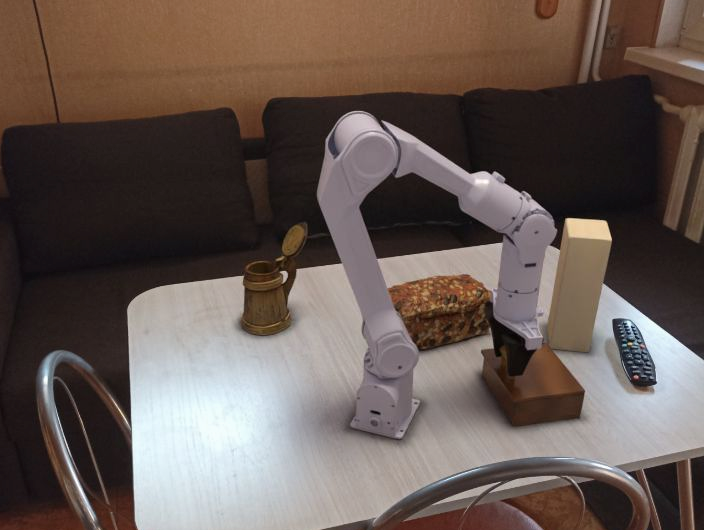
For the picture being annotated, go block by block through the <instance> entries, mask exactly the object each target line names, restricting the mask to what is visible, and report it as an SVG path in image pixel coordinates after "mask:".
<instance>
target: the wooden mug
mask: <svg viewBox="0 0 704 530" xmlns="http://www.w3.org/2000/svg"><path fill="white" fill-rule="evenodd" d="M307 237H308V223H307V222H306V221H304V222H299V223H296V224H295V225H293V226H292V227H290V229H289V230H288V231H287V232H286V234H285V236H284V238H283V241H282V246H281V254H280V256H279V258H276V259H274V260H273V262H272V261H268V260H267V261H266V260H258V261H254V262H251V263H248V264H247V265H246V266H245V268H244V274H243V278H242V286H243V287H244V289H243V290H244V295H243V312H242V316H241V327H242V329H243V330H244V331H245V332H247V333H250V334H253V335H259V336H270V335H274V334H277V333H280V332H282V331H283V330H285V329H288V327H289V326H290V325H291V323H292V317H291V311H290V308H289V307H288V303H289V297H290V293H291V291H292V289H293V286H294V285H295V281H296V278H297V271H298V269H297V264H296V261H295V259H294V257H296V256H297V255H299V253H300V252H301V251H302V249H303V247H304V246H305V243H306V240H307ZM284 271H285V272H286V274H287V277H286V279H285V280H284V274H283V273H282V272H284Z"/></svg>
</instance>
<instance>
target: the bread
mask: <svg viewBox="0 0 704 530" xmlns="http://www.w3.org/2000/svg"><path fill="white" fill-rule="evenodd" d="M484 285H485V284H484V283H483V282H482V281H479V280H477V279H476V278H474V277H473V276H472V275H471V274H469V273H468V274H467V273H465V274H464V273H463V274H457V275H455V274H452V275H434V276H428V277H426V278H425V277H424V278H420V279H416V280H413V281H405V282H404V283H402V284H395V285H392V286H391V287H387V288H388V291H389V294H390V297H391V300H392V303H393V305H394V308H395V311H397V312H398V313H399V314H400V315H401V317H402V319H403V322H404V325H405V327H406V329H407V331H408V333H409V335H410V337H411V339H412V341H413V343H414V344H415V345H416V347H417V349H418V350H427V349H429V348H431V349H432V348H434V347H439V346H443V345H447V344H453V343H456V342H461V341H463V340H465V339H469V338H470V337H472V338H473V337H475V336H476V335H485V334H486V333H488V332H489V330H491V329H490V326H489V323H488V320H487V318H486V316H485V312H486V311H489V310H493V303H492V302H491V301H490V292H491V289H490V290H489V289H488V288H486V287H485V286H484Z"/></svg>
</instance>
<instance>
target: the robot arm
mask: <svg viewBox="0 0 704 530" xmlns="http://www.w3.org/2000/svg"><path fill="white" fill-rule="evenodd" d="M381 123H382V125H383V127H381V124H380V122H379V121H378V119H377V118H376V117H375V116H374V115H372V114H371V113H369V112H366V111H363V110H354V111H350V112H347V113H346V114H343V115H342V116H341V117H340V118H338V120H337V121H336V123H335V125H334V126H333V128H332V129H331V131H330V132H329V133H328V135H327V137H326V138H325V145H324V158H323V162H322V166H321V171H320V176H319V180H318V184H317V190H316V198H317V202H318V205H319V207H320V210H321V213H322V215H323V218H324V221H325V223H326V226H327V228H328V231H329V233H330V234H329V235H330V236H331V239H332V241H333V244H334V246H335V249H336V251H337V254H338V257H339V259H340V261H341V264H342V267H343V270H344V272H345V275H346V277H347V281H348V283H349V284H350V288H351V290H352V293H353V295H354V298H355V300H356V303H357V306H358V308H359V312H360V314H361V318H362V322H361V335H362V338H363V339H364V340H365V342H366V345H367V348H366V351H365V353H364V357H363V377H362V381H361V383H360V385H359V387H358V389H357V391H356V394H355V396H356V397H355V409H356V410H355V415H354V417H353V419H352V420H351V422H350V424H349V426H350V428H352V429H356V430H359V431H364V432H367V433H372V434H374V435H375V434H376V435H379V436H384V437H388V438H393V439H396V440H402V439H404V437H405V434H406V432H407V430H408V428H409V427H410V425H411V422H412V420H413V418H414V417H415V415H416V412H417V411H418V408H419V407H420V405H421V400H419V399H416V398H413V392H414V391H413V390H414V369H415V368H416V367H417V365H418V363H419V359H420V351H419V349H417V347H416V345H415V344H414V343H413V341H412V339H411V337H410V335H409V333H408V331H407V329H406V327H405V325H404V322H403V319H402V317H401V315H400V314H399V313H398V312H397V311H395V308H394V305H393V303H392V300H391V297H390V294H389V291H388V288H389V287H388V285H387V283H386V279H385V278H384V275H383V271H382V269H381V265H380V263H379V261H378V258H377V255H376V252H375V249H374V247H373V244H372V243H373V242H372V241H371V237H370V235H369V232H368V230H367V229H368V228H367V226H366V224H365V222H364V218H363V215H362V211H361V210H360V206H361V205H362V203H363V202H364V200H365V198H366V196H367V195H368V194H369V193H370V192H372V191H373V190H374V189H375V188H376V187H377V186H379V185H380V184H381V183H382V182H383V181H385V179H387V178H388V177H389V176H390V175H393V177H394V178H396V179H397V178H400V177H403V176H406V175H408V174H411V173H413V174H415V175H417V176H419V177H421V178H422V179H425V180H427V181H428V182H430V183H432V184H434V185H436V186H437V187H440V188H442V189H443V190H445V191H447V192H449V193H450V194H453V195H455V196H456V197H457V199H458V200H457V201H458V206H459V209H460V210H461V211H462V212H463V213H465V214H467V215H469V216H470V217H472V218H473V219H474V220H477V221H479V222H480V223H482V224H484V225H485V226H487V227H489V228H490V229H492V230H493V231H496V232H497V233H501V234H503V236H502V237H503V239H502V246H501V252H500V262H499V264H500V265H499V270H498V271H499V272H498V281H497V287H496V288H490V291H491V292H490V301H491V302H492V303H493V310H489V311H486V312H485V316H486V318H487V320H488V323H489V326H490V329H489V330H490V333H491V338H492V347H493V348H494V353H495V356H496V357H501V356H502V354H501V352H500V347H501V346H503V345H505V347H506V353H507V372H508V375H509V376H510V377H513V376H521V375H523V373H524V371H525V369H526V367H527V365H528V363H529V361H530V359H531V357H532V356H533V354H534V353H535V352H536V350H537V349H541V347H542V345H543V343H545V342H544V341H545V338H544V336H543V335H542V333H541V329H540V324H539V318H540V317H543V316H544V310H543V308H541V306H539V305H538V302H539V295H540V289H541V288H540V287H541V283H542V282H541V281H542V274H543V268H544V260H545V256H546V252H547V249H548V247H549V246H550V245H551V244H552V243H553V241H554V240H555V238H556V237H557V234H558V229H557V228H556V227H555V220H554V218H553V216H552V214H551V213H550V212H549V211H548V210H546V209H545V208H544V207H542V206H541V205H540V204H539V203H538V202H537V201H536V200H534V199H533V198H532V196H531V194H529V193H528V192H526V191H524V190H522V191H521V192H519V191H518V190H516V189H515V188H513V187H512V186H510V185H508V184H506V183H505V181H506V178H505V177H504V176H503V175H501V174H500V173H499V172H497V171H493V172H492V174H491V173H489V172H488V171H484V170H483V171H477V172H474V173H469V172H468V171H466V170H465V169H463V168H462V167H461V166H459V165H457V164H455V162H453V161H451V160H450V159H448V158H447V157H445V156H444V155H443V154H441V153H440V152H438V151H437V150H435V149H434V148H432V147H430V146H429V145H427V144H426V143H424V142H423V141H422V140H420V139H418V138H417V137H416V136H414V135H412V134H410V133H409V132H407V131H405V130H403V129H402V128H399V127H397V126H395V125H393V124H391V122H387V121H384V120H381ZM383 128H384V129H383Z"/></svg>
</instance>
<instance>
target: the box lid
mask: <svg viewBox="0 0 704 530" xmlns="http://www.w3.org/2000/svg"><path fill="white" fill-rule="evenodd" d="M500 352H501V354H502V356H501V357H496V356H495V353H494V347H493V348H484V349H483V348H482V349H480V354H481V355H482V357H483V359H484V358H485V360H486V362H487V363H488V365H489V366H490V368H491V369H492V371H493V372H494V374H495V375H496V377H497V379H498V380H499V382H500V383H501V385H502V386H503V388H504V389H505V391H506V393H507V394H508V396H509V397H510V399H511V400H512V402H513V403H515V402H523V401H531V400H539V399H547V398H555V397H563V396H571V395H579V394H586V390H585V388H584V387H583V386H582V385H581V383H580V381H578V380H577V379H576V377H575V376H574V374H572V372H571V371H570V369H569V368H568V367H567V366H566V365H565V363H564V362H563V361H562V360H561V358H559V356H558V355H557V354H556V352H554V349H551V348H550V347H549V343H547V342H543V345H542V347H541V349H537V350H536V352H535V353H534V354H533V356H532V357H531V359H530V361H529V363H528V365H527V367H526V369H525V371H524V373H523V375H521V376H513V377H510V376H509V375H508V372H507V353H506V347H505V345H503V346H501V347H500Z"/></svg>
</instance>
